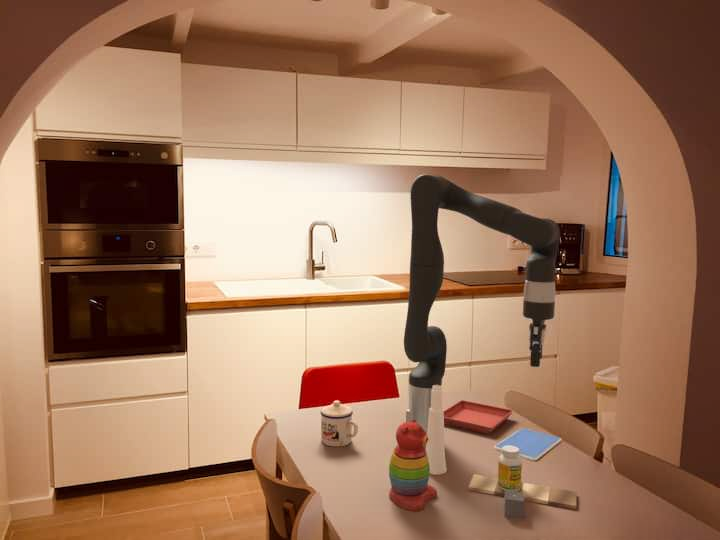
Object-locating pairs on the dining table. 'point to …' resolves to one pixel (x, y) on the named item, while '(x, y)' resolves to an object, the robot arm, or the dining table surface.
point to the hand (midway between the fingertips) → (536, 362)
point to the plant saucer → (475, 416)
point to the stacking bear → (410, 468)
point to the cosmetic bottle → (436, 433)
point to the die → (514, 504)
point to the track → (526, 492)
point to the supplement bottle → (509, 469)
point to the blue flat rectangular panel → (530, 443)
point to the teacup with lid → (337, 425)
